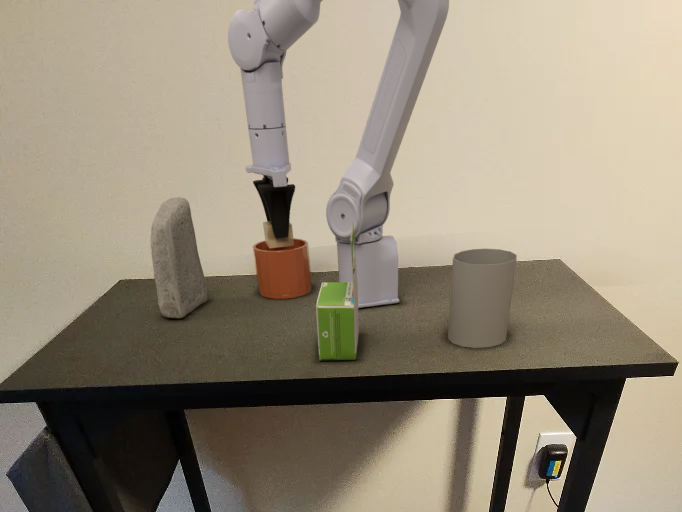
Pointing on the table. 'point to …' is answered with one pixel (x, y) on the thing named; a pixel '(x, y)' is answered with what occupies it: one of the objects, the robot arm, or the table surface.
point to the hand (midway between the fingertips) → (279, 234)
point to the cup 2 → (481, 297)
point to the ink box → (338, 317)
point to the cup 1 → (283, 270)
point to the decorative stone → (176, 260)
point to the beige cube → (278, 242)
